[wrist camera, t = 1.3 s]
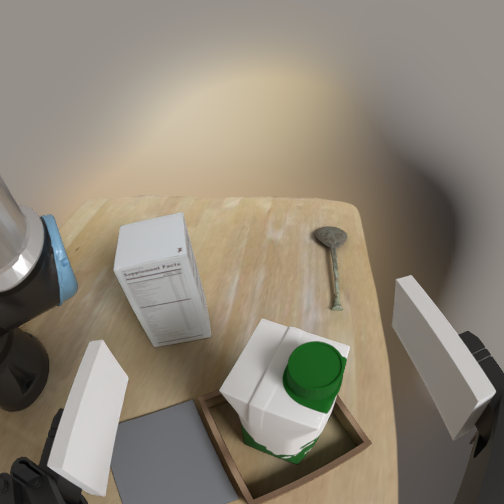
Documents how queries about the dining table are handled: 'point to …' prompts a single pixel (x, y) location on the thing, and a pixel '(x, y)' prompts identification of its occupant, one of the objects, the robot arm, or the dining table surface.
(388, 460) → the dining table surface
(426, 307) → the robot arm
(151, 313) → the supplement box
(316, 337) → the soya milk
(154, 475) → the rubber mat
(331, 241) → the soupspoon
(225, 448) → the walnut frame
